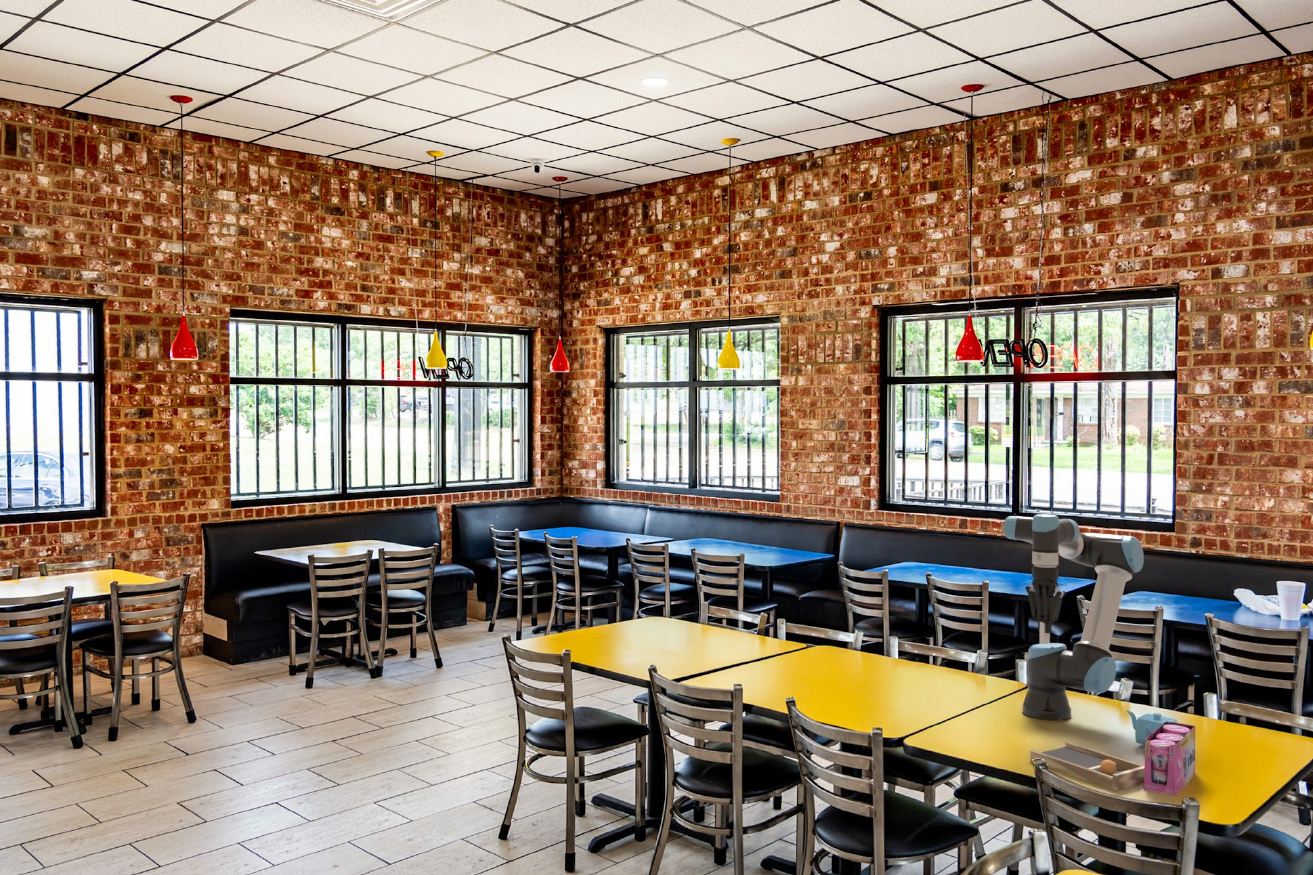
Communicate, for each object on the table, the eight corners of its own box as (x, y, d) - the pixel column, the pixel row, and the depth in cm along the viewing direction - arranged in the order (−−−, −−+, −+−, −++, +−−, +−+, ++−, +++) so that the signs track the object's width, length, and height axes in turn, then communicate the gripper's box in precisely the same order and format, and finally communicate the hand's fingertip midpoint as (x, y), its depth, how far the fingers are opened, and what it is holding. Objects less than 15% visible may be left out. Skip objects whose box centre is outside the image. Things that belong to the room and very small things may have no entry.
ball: (1103, 759, 281) (1115, 757, 278) (1109, 773, 280) (1121, 772, 277) (1095, 762, 279) (1107, 760, 276) (1100, 777, 278) (1112, 775, 275)
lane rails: (1068, 751, 298) (1068, 738, 298) (1154, 779, 275) (1155, 765, 275) (1030, 761, 290) (1030, 747, 290) (1116, 790, 266) (1116, 775, 266)
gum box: (1174, 799, 262) (1175, 746, 262) (1141, 792, 267) (1141, 740, 267) (1196, 774, 280) (1196, 725, 280) (1164, 768, 285) (1165, 720, 285)
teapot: (1196, 750, 300) (1196, 715, 300) (1178, 760, 291) (1178, 725, 291) (1134, 736, 314) (1134, 703, 314) (1114, 745, 304) (1114, 712, 304)
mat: (1065, 752, 298) (1065, 746, 298) (1147, 779, 275) (1147, 772, 275) (1033, 760, 290) (1033, 754, 290) (1115, 788, 268) (1115, 781, 268)
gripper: (1019, 563, 313) (1018, 640, 313) (1055, 569, 302) (1054, 648, 302) (1035, 562, 317) (1035, 638, 317) (1071, 567, 306) (1071, 645, 306)
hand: (1044, 643), depth 310 cm, fingers closed
